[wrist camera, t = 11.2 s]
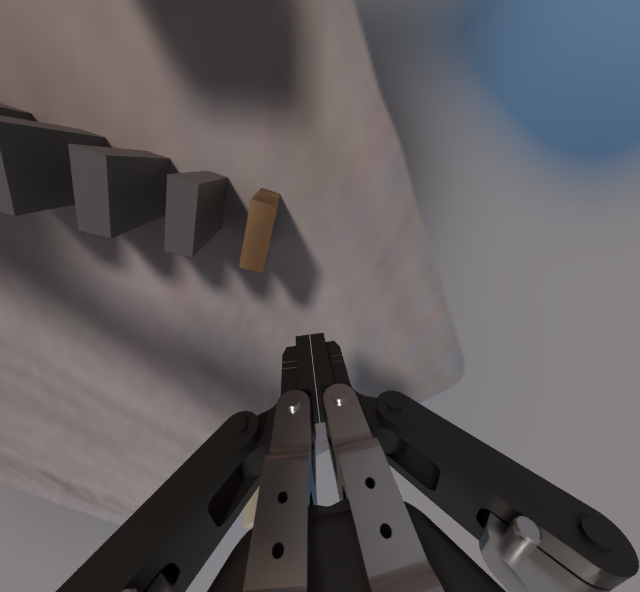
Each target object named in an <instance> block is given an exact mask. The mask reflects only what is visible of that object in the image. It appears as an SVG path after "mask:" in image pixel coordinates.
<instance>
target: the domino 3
mask: <svg viewBox="0 0 640 592" xmlns="http://www.w3.org/2000/svg"><path fill="white" fill-rule="evenodd" d="M227 179H228V177H225V176H222V175H219V174H216V173H213V172H210V171H200V172H188V173H176V174H167V190H166V215H165V241H164V251H167V252H172V253H176V254H180V255H184V256H189V257H193V256H194V255H195V254H196V253H197V252H198V251H199V250H200V249H201V248H202V247H203V246H204V245H205V244H206V243H207V242H208V241H209V240H210V239H211V238H212V237H213V236H214V235H215V234H216V233H217V232H218V231H219V230H220V229H221V222H222V215H223V208H224V201H225V194H226V186H227Z"/></svg>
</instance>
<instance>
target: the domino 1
mask: <svg viewBox="0 0 640 592" xmlns="http://www.w3.org/2000/svg"><path fill="white" fill-rule="evenodd" d="M68 144H78V145H88V146H99V147H105V137H102V136H99V135H96V134H93V133H90V132H87V131H84V130H81V129H76V128H70V127H65V126H59V125H53V124H47V123H42V122H36V121H30V120H24V119H19V118H13V117H7V116H1V115H0V212H2V213H6V214H10V215H14V216H16V215H21V214H26V213H31V212H37V211H42V210H47V209H52V208H58V207H63V206H68V205H73V204H75V199H74V190H73V182H72V173H71V164H70V156H69V147H68Z"/></svg>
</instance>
